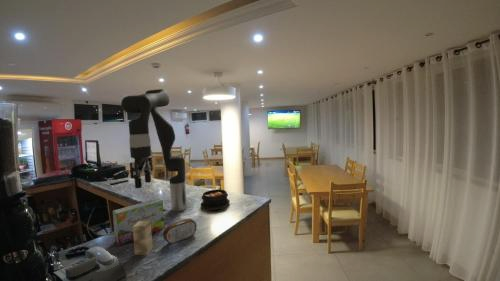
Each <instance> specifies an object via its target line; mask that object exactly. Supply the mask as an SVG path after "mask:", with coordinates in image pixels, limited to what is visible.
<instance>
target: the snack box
mask: <svg viewBox="0 0 500 281" xmlns="http://www.w3.org/2000/svg"><path fill="white" fill-rule="evenodd" d="M163 201H164V200H162V199H160V198H155V199H151V200H147V201H144V202H140V203H137V204H133V205H129V206H125V207H122V208H118V209H115V210H114V209H113V210H112V218H113V220H112V222H113V230H114V232H113V233H114V242H115V243H116V244H117V245H118V246H120V245H123V244H125V243H129V242H131V241H134V237H133V226H134V225H135V224H136V223H137V222H138V221H150V222H151V234H153V233H155V232H158V231H160V230H163V229H165V217H164V216H165V215H164V202H163Z"/></svg>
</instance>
